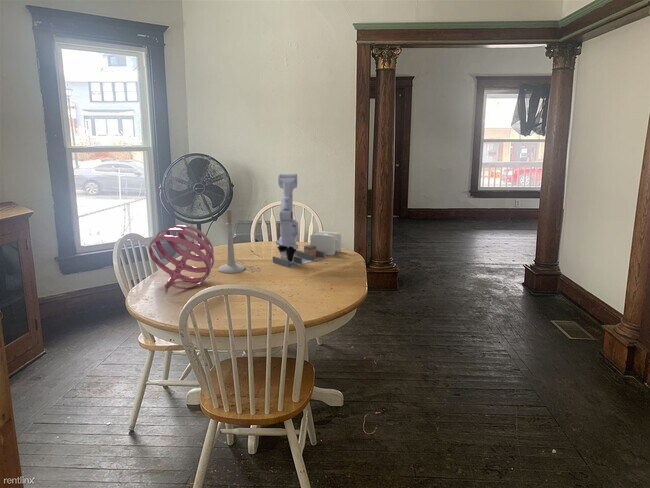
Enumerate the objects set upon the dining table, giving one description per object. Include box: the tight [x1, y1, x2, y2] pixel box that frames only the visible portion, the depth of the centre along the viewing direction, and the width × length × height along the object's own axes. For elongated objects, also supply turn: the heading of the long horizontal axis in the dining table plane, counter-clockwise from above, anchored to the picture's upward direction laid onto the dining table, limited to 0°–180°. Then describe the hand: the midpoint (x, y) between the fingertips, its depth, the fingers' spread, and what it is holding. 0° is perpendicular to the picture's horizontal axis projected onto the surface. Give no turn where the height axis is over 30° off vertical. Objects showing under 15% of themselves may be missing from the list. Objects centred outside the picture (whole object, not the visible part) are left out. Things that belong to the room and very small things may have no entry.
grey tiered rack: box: [272, 250, 325, 268], centre depth 257 cm, size 14×25×4 cm, turn 136°
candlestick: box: [217, 208, 246, 274], centre depth 240 cm, size 13×13×30 cm
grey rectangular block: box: [280, 250, 295, 264], centre depth 251 cm, size 4×5×6 cm
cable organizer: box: [309, 230, 342, 256], centre depth 272 cm, size 15×11×12 cm
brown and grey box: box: [303, 244, 316, 258], centre depth 262 cm, size 4×5×6 cm
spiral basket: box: [148, 224, 215, 290], centre depth 217 cm, size 28×28×27 cm
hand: (287, 260), depth 251 cm, fingers closed on grey rectangular block, 4 cm apart
